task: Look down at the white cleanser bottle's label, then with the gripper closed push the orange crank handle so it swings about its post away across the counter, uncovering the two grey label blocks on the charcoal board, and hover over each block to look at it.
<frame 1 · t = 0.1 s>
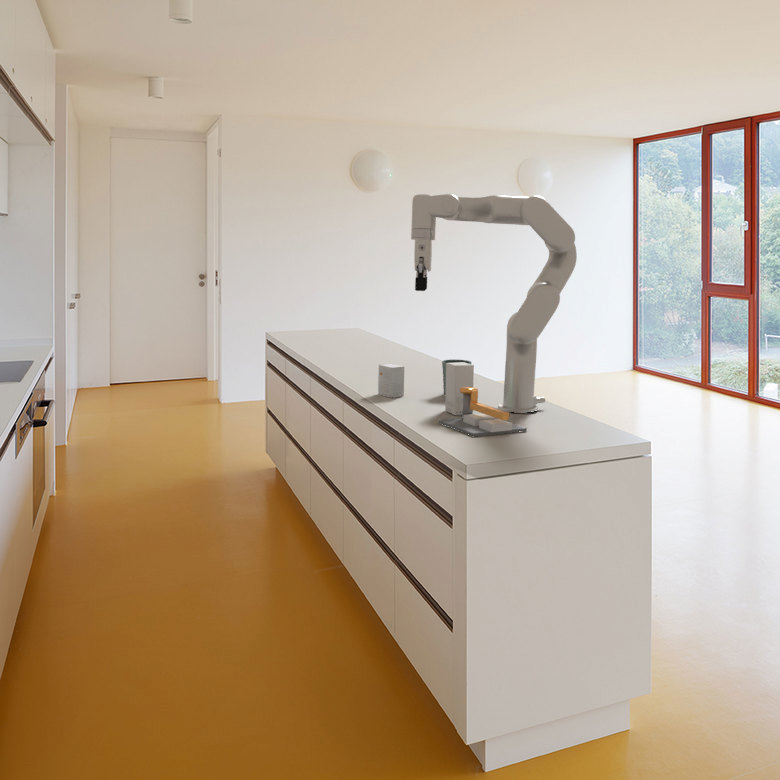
hand: (421, 290, 246), 37 cm above the table, tool pointing down, fingers open, 9 cm apart
sled board: (481, 427, 223), on the table
small box: (390, 396, 268), on the table
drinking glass: (455, 395, 272), on the table
skincare box: (457, 413, 242), on the table
orange crank handle: (484, 402, 221), point 7 cm above the table, hinge at 0.0°
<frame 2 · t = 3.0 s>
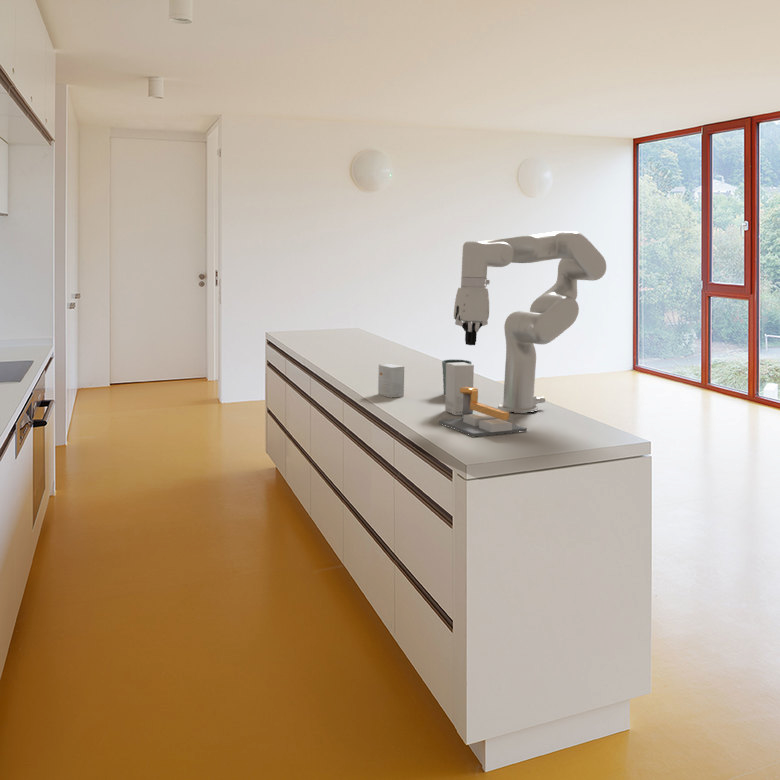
hand: (470, 344, 234), 22 cm above the table, tool pointing down, fingers closed
nothing on the table moved.
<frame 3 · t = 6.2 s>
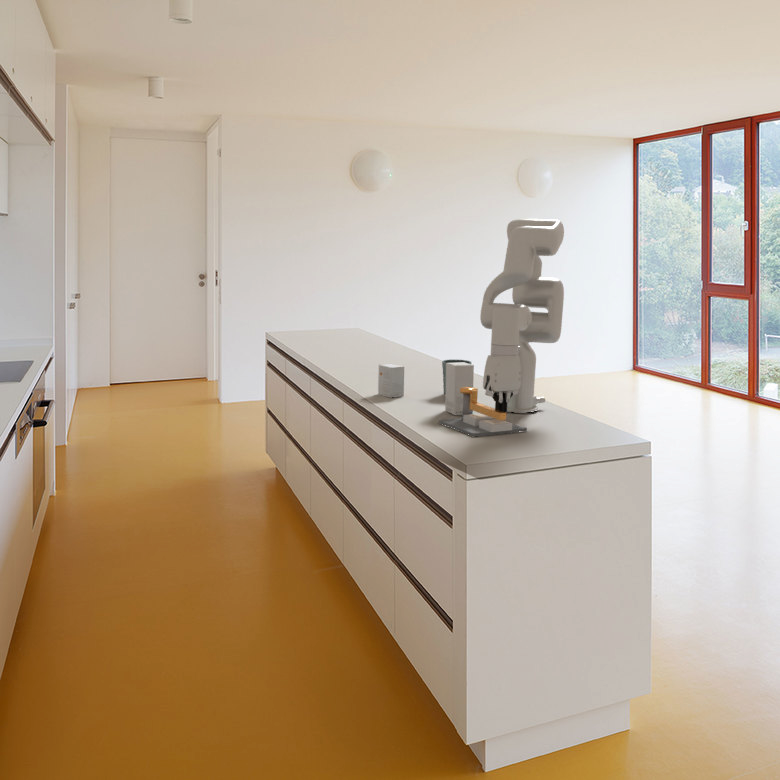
hand: (500, 415, 218), 4 cm above the table, tool pointing down, fingers closed
orange crank handle: (482, 402, 221), point 7 cm above the table, hinge at 3.1°, touching gripper
everything else where it was.
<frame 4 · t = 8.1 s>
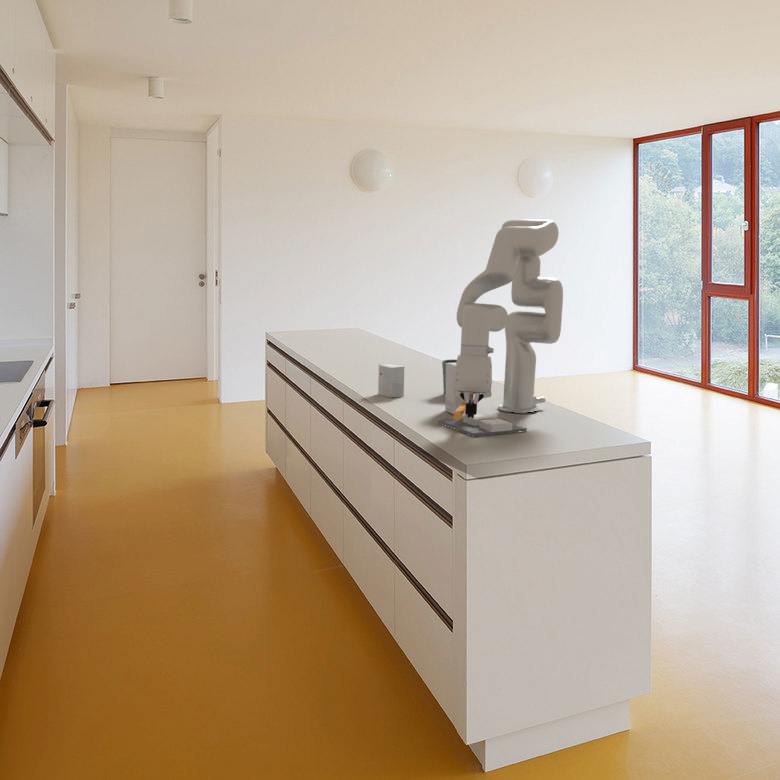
hand: (470, 416, 215), 4 cm above the table, tool pointing down, fingers closed
orange crank handle: (463, 402, 220), point 7 cm above the table, hinge at 43.1°, touching gripper
everything else where it was.
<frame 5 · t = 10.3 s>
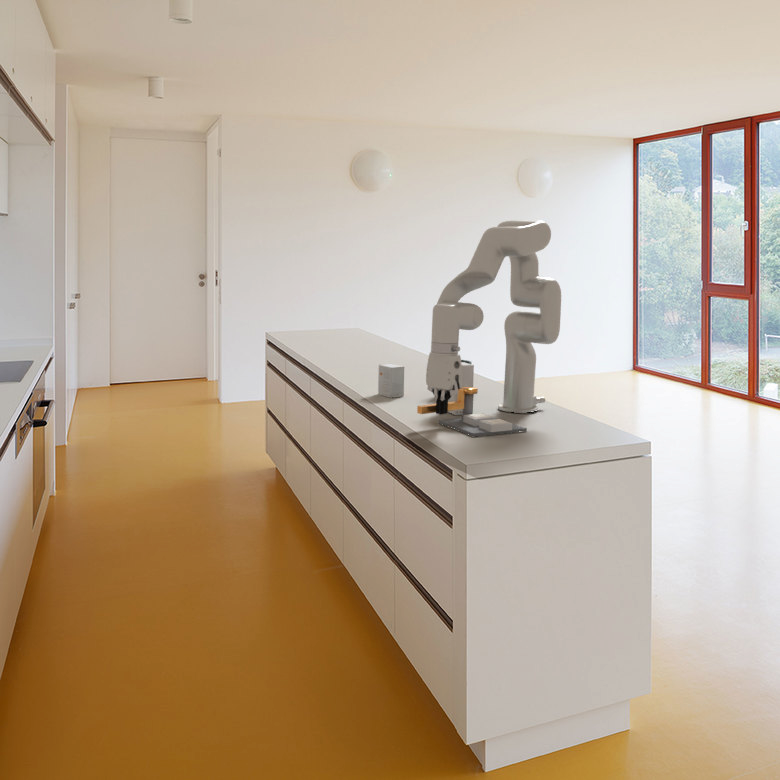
hand: (441, 413, 218), 4 cm above the table, tool pointing down, fingers closed
orange crank handle: (448, 400, 223), point 7 cm above the table, hinge at 80.9°, touching gripper
everything else where it was.
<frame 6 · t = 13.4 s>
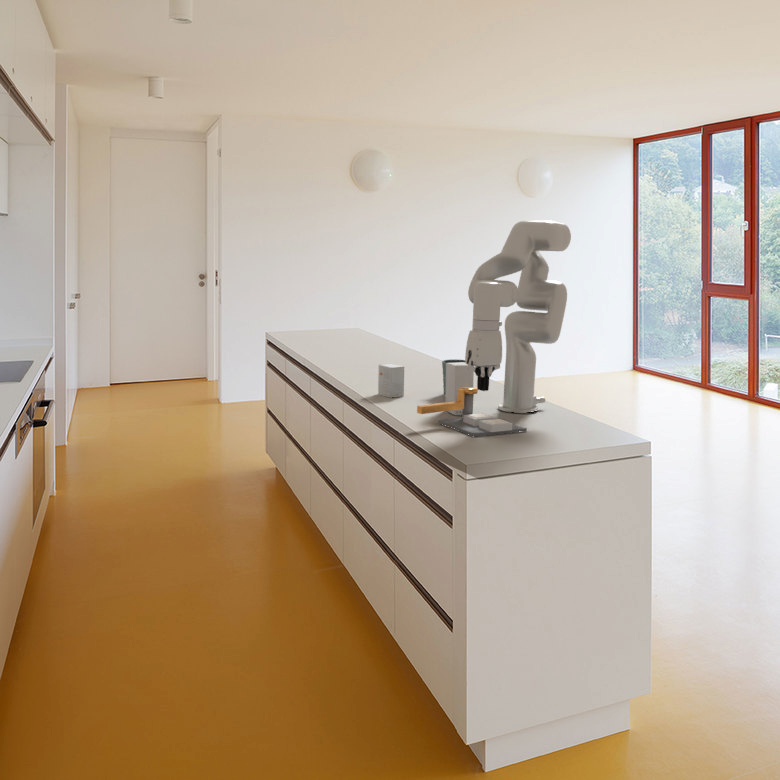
hand: (482, 389, 222), 11 cm above the table, tool pointing down, fingers closed
orange crank handle: (448, 400, 223), point 7 cm above the table, hinge at 81.1°
everything else where it was.
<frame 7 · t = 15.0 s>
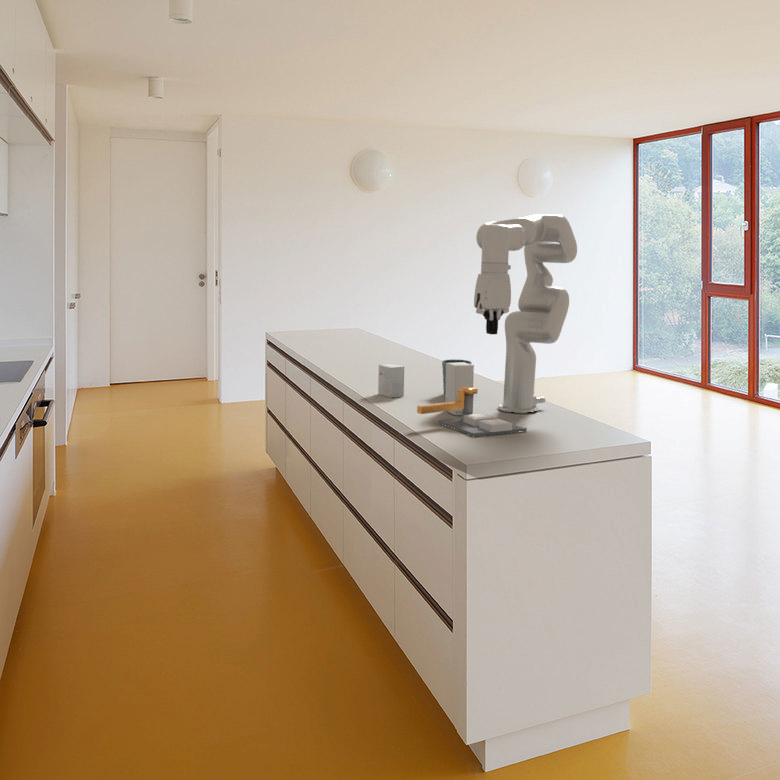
hand: (491, 333, 223), 27 cm above the table, tool pointing down, fingers closed
nothing on the table moved.
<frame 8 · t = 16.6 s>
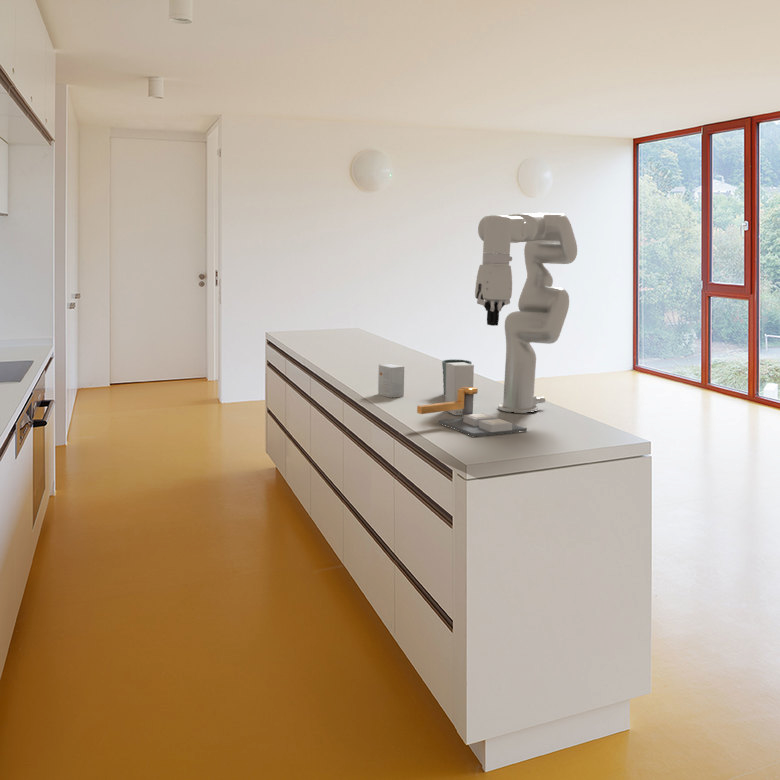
hand: (492, 325, 222), 29 cm above the table, tool pointing down, fingers closed
nothing on the table moved.
at the end: orange crank handle at +81° (first picture: +0°) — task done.
